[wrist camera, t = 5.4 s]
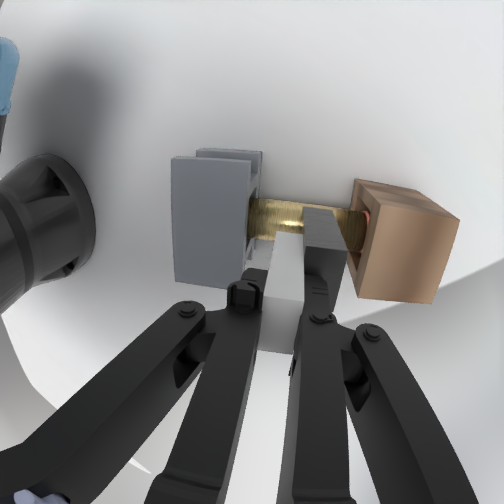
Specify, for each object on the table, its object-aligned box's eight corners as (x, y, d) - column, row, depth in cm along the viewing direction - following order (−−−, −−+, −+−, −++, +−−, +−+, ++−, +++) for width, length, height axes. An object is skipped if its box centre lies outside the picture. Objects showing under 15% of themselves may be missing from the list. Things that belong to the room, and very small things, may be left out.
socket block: (342, 248, 26) (357, 297, 18) (354, 178, 23) (380, 204, 16) (400, 256, 25) (431, 304, 18) (416, 190, 22) (460, 220, 15)
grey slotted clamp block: (201, 243, 27) (175, 281, 21) (203, 148, 23) (171, 158, 17) (254, 250, 27) (241, 291, 21) (261, 151, 23) (249, 162, 17)
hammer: (220, 228, 24) (178, 291, 15) (221, 186, 22) (174, 230, 14) (364, 246, 23) (397, 317, 14) (373, 205, 21) (417, 260, 12)
